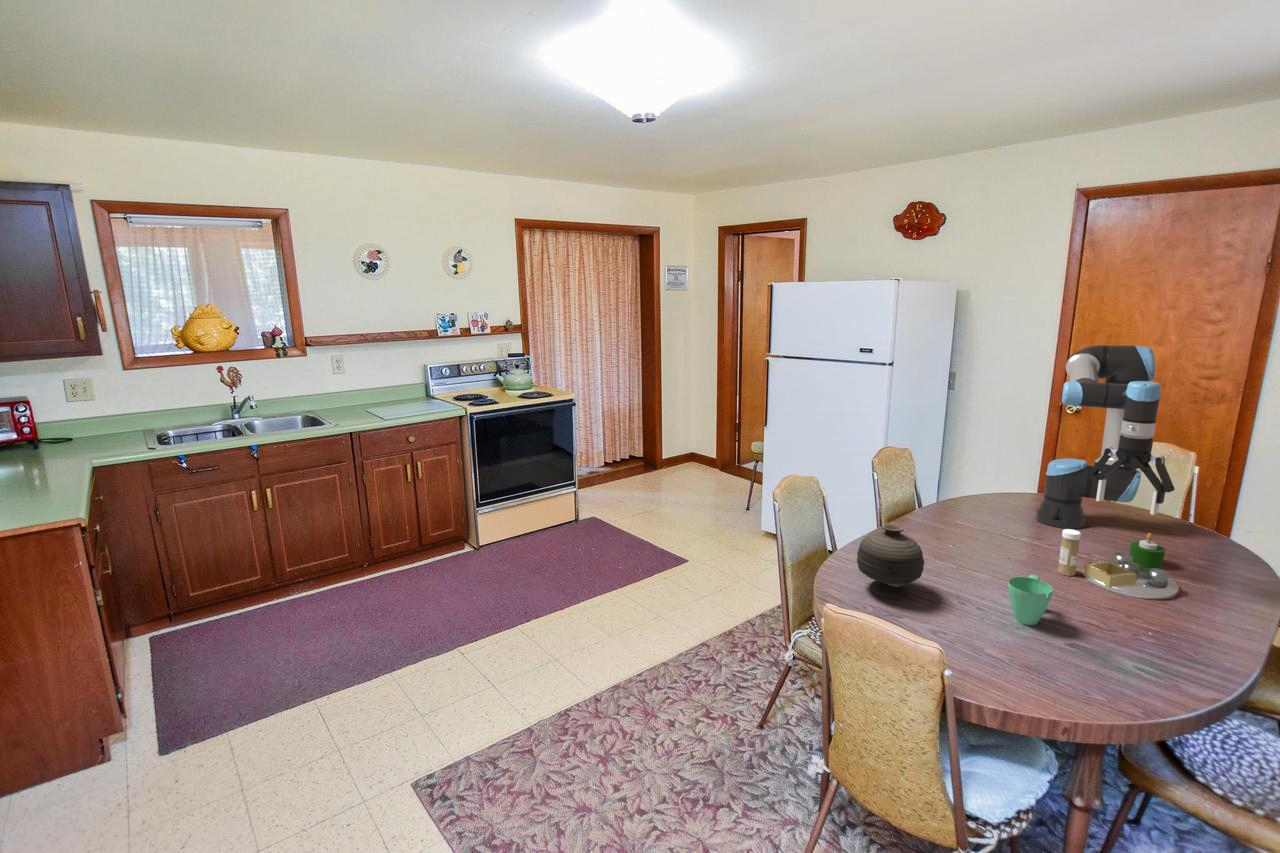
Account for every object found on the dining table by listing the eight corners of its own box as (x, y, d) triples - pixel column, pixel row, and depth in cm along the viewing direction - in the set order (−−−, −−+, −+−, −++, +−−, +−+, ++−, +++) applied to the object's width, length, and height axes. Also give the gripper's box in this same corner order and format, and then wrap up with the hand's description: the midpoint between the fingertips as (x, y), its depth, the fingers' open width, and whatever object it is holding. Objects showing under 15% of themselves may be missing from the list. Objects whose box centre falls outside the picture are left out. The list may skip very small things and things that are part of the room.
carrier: (1064, 568, 190) (1066, 551, 189) (1128, 562, 193) (1130, 546, 192) (1128, 602, 169) (1131, 584, 168) (1199, 596, 171) (1202, 577, 170)
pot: (869, 567, 192) (878, 508, 186) (928, 591, 179) (940, 528, 174) (841, 588, 180) (849, 526, 174) (902, 615, 167) (913, 548, 162)
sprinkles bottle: (1077, 577, 184) (1083, 534, 181) (1059, 575, 185) (1065, 533, 183) (1072, 570, 188) (1078, 529, 185) (1055, 569, 190) (1060, 527, 187)
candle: (1163, 562, 193) (1168, 532, 191) (1161, 571, 187) (1166, 540, 185) (1129, 555, 198) (1134, 526, 196) (1126, 563, 192) (1131, 533, 190)
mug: (1046, 634, 154) (1051, 598, 152) (1001, 622, 160) (1005, 587, 158) (1052, 610, 165) (1056, 576, 163) (1009, 600, 171) (1013, 566, 169)
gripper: (1081, 429, 185) (1072, 497, 189) (1185, 446, 164) (1172, 522, 168) (1094, 426, 189) (1085, 493, 193) (1197, 442, 167) (1184, 517, 172)
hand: (1125, 506), depth 180 cm, fingers open, 13 cm apart
